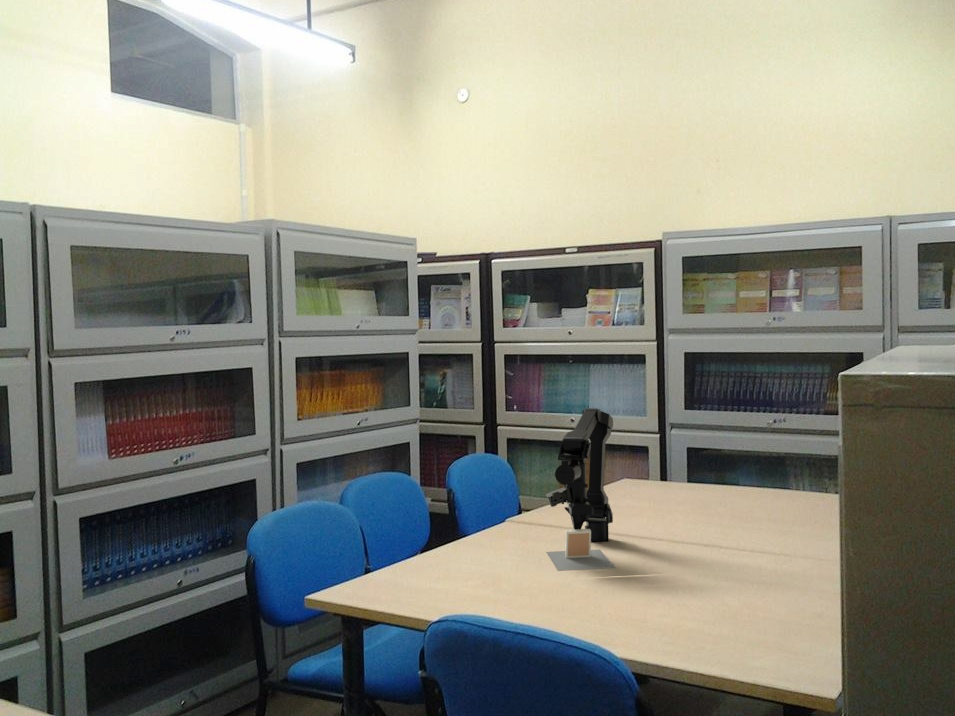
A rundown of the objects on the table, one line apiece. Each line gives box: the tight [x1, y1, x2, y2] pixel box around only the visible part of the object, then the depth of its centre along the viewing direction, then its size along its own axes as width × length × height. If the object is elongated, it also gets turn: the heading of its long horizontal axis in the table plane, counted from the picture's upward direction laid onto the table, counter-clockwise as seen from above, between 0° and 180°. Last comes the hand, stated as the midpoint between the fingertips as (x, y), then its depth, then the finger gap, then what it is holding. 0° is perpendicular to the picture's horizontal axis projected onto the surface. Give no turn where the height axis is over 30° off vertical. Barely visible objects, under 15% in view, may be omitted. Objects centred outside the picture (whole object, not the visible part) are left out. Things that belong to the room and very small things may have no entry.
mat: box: [545, 549, 617, 572], centre depth 244 cm, size 16×20×1 cm
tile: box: [564, 528, 592, 558], centre depth 246 cm, size 7×2×8 cm, turn 95°
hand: (576, 533), depth 247 cm, fingers closed
